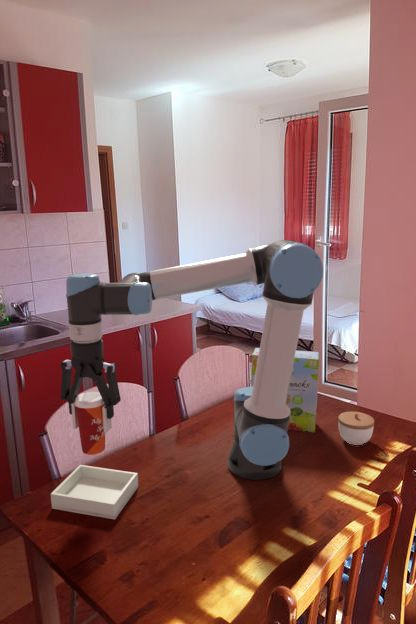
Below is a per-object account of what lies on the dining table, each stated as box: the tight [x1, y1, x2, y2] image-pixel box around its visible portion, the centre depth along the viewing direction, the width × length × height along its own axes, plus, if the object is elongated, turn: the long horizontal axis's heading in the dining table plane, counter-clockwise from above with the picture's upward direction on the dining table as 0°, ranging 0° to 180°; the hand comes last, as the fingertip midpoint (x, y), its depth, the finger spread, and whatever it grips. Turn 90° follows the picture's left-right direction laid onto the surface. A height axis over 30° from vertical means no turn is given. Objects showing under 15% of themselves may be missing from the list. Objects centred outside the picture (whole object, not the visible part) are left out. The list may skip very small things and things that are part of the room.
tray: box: [50, 464, 139, 520], centre depth 122 cm, size 17×14×4 cm
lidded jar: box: [337, 411, 375, 446], centre depth 149 cm, size 11×11×9 cm
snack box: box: [250, 347, 320, 433], centre depth 159 cm, size 22×9×26 cm, turn 77°
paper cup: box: [74, 391, 106, 456], centre depth 118 cm, size 8×8×14 cm
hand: (92, 428), depth 118 cm, fingers closed on paper cup, 8 cm apart
